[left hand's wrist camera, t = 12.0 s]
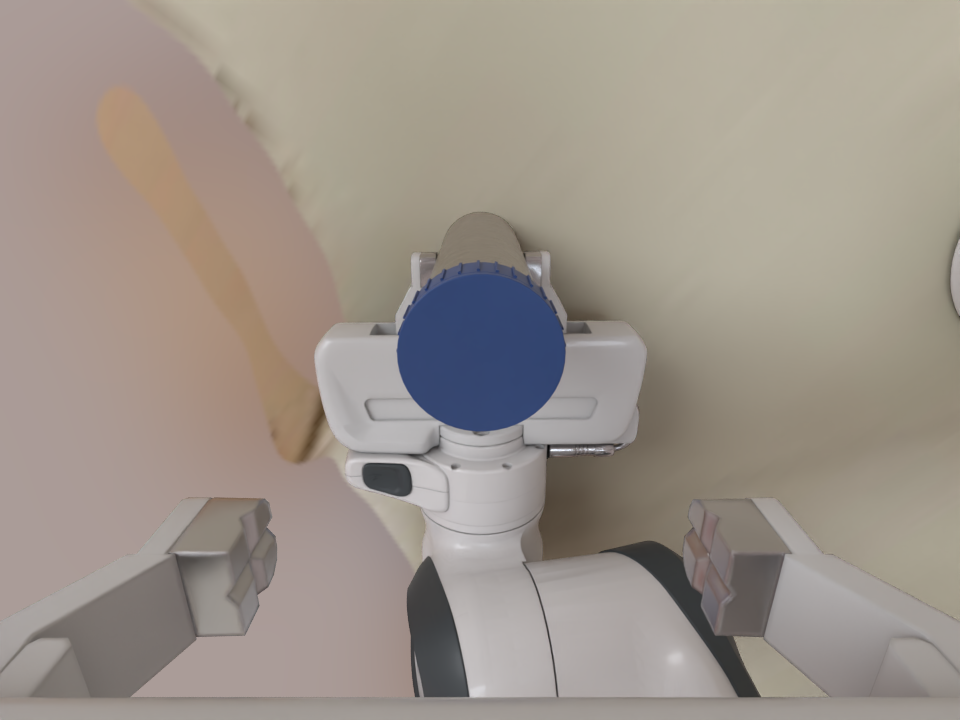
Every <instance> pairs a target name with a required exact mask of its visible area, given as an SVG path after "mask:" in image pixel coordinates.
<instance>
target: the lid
mask: <svg viewBox="0 0 960 720" xmlns="http://www.w3.org/2000/svg"><path fill="white" fill-rule="evenodd" d="M556 314H557V311H556V308H555V306H554V304H553V302H552V300H550V301H549V299H548V298H547V296H546V294H545V291H544V289H543V287H542V286H540V287H539V286H538V285H537V284H536V283H535V282H534V281H532V279H531V277H530V276H529V275H527V276H526V275H524V274H523V273H521V272H519V271H517V270H516V269H515V267H513V266H512V268H510V267H508V266H505V265H501V264H498V262H496V261H495V263H489V262H480V260H477V262H473V263H466V264H462V262H461V263H459V265H458V266H455V267H452V268H450V269H447V270H446V269H443V270H442V273H440V274H438V275H436V276H435V277H434V278H433V279H431V278H429V279H428V281H427V283H426V285H425V286H424V287H423V288H422V289H421V290H420V291H418V290H417V292H416V294H415V296H414V298H413V301H412V304H411V305H408V307H407V309H406V312H405V314H404V316H403V319H405V320H403V322H402V324H401V327H400V329H399V331H398V335H399V338H398V344H397V349H396V352H397V362H398V367H399V372H400V375H401V378H402V381H403V383H404V385H405V387H406V389H407V391H408V392H409V394H410V395H411V397H412V398H413V400H414V401H415V402H416V403H417V404H418V405H419V406H420V407H421V408H422V409H423V410H424V411H425V412H426V413H428V414H429V415H430V416H432V417H433V418H435V419H436V420H438V421H440V422H442V423H444V424H446V425H449V426H452V427H455V428H458V429H463V430H468V431H495V430H500V429H504V428H508V427H511V426H513V425H516V424H518V423H520V422H522V421H524V420H526V419H528V418H529V417H531V416H532V415H534V414H535V413H536V412H537V411H538V410H540V409H541V408H542V407H543V406H544V405H545V404H546V402H547V401H548V400H549V399H550V398H551V396H552V395H553V393H554V392H555V390H556V388H557V386H558V384H559V382H560V380H561V377H562V374H563V370H564V365H565V356H566V349H565V347H566V343H565V340H564V335H563V331H562V330H564V328H563V325H562V323H561V321H560V319H559V317H558V315H556Z"/></svg>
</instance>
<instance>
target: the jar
mask: <svg viewBox="0 0 960 720" xmlns="http://www.w3.org/2000/svg"><path fill="white" fill-rule="evenodd" d="M477 260H480V262H489V263H495V261H496V262H498V264H501V265H505V266H508V267H510V268H512V266H513V267H515V269H516V270H517V271H519V272H521V273H523V274H524V275H526V276H527V275H529V276H530V277H531V279H532V276H531V273H530V271H529V268H528V266H527V263H526V260H525V258H524V255H523V253H522V250H521V247H520V245H519V242H518V240H517V237H516V234H515V232H514V231H513V229H512V228H511V226H510V225H509V224H508V223H507V222H506V221H505V220H503V219H502V218H500V217H499V216H496V215H494V214H491V213H486V212H475V213H470V214H467V215H465V216H463V217H461V218H459V219H458V220H457V221H456V222H454V223H453V225H452V226H451V227H450V228H449V230H448V231H447V233H446V235H445V238H444V241H443V243H442V246H441V249H440V251H439V254H438V257H437V259H436V262H435V265H434V268H433V270H432V273H431V276H430V278H431V279H433V278H434V277H435V276H436V275H438V274H440V273H442V270H443V269H446V270H447V269H450V268H452V267H455V266H458V265H459V263H461V262H462V264H466V263H473V262H477ZM532 281H533V279H532Z"/></svg>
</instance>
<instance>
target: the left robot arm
mask: <svg viewBox="0 0 960 720" xmlns="http://www.w3.org/2000/svg"><path fill="white" fill-rule="evenodd" d="M271 518H272V514H271V509H270V504H269V502H268V501H267V500H266V499H257V498H186V499H183V500H181V501H180V502H179V504H178V505H177V506H176V507H175V508H174V510H173V511H172V512H171V513H170V514H169V516H168V517H167V518H166V519H165V520H164V521H163V523H162V524H161V525H160V526H159V527H158V529H157V530H156V531H155V532H154V533H153V535H152V536H151V537H150V538H149V539H148V541H147V542H146V543H145V544H144V545H143V547H142V548H141V549H140V550H139V551H138V552H137V554H127V555H125V556H123V557H121V558H119V559H117V560H116V561H114V562H112V563H110V564H108V565H106V566H104V567H102V568H100V569H98V570H96V571H95V572H93V573H91V574H89V575H87V576H85V577H83V578H81V579H79V580H77V581H75V582H74V583H72V584H70V585H68V586H66V587H64V588H62V589H60V590H58V591H56V592H55V593H53V594H51V595H49V596H47V597H45V598H43V599H41V600H39V601H37V602H36V603H34V604H32V605H30V606H28V607H26V608H24V609H22V610H20V611H18V612H16V613H15V614H13V615H11V616H9V617H7V618H5V619H3V620H1V621H0V720H960V621H958V620H957V619H955V618H953V617H951V616H949V615H947V614H945V613H943V612H941V611H939V610H938V609H936V608H934V607H932V606H930V605H928V604H926V603H924V602H922V601H920V600H919V599H917V598H915V597H913V596H911V595H909V594H907V593H905V592H903V591H901V590H900V589H898V588H896V587H894V586H892V585H890V584H888V583H886V582H884V581H882V580H881V579H879V578H877V577H875V576H873V575H871V574H869V573H867V572H865V571H863V570H862V569H860V568H858V567H856V566H854V565H852V564H850V563H848V562H846V561H844V560H843V559H841V558H839V557H837V556H835V555H833V554H823V552H822V551H821V550H820V549H819V548H818V546H817V545H816V544H815V543H814V542H813V541H812V539H811V538H810V537H809V536H808V535H807V533H806V532H805V531H804V530H803V529H802V528H801V526H800V525H799V524H798V523H797V522H796V520H795V519H794V518H793V517H792V516H791V514H790V513H789V512H788V511H787V510H786V509H785V507H784V506H783V505H782V504H781V503H780V501H779V500H777V499H775V498H773V497H761V498H746V499H693V501H692V503H691V505H690V508H689V513H688V518H689V520H690V522H691V524H692V526H693V528H692V529H691V530H690V531H689V532H688V533H687V534H686V535H685V537H684V544H683V561H684V568H685V571H686V575H687V578H688V580H689V582H690V584H691V586H692V588H694V589H695V590H697V591H698V592H699V593H701V594H702V595H703V596H702V601H701V608H702V610H703V612H704V614H705V616H706V618H707V620H708V622H709V624H710V626H711V628H712V630H713V632H714V634H715V636H747V637H764V640H765V641H766V642H767V643H768V644H769V645H771V646H772V647H773V648H774V649H775V650H776V651H778V652H779V653H780V654H781V655H782V656H783V657H784V658H786V659H787V660H788V661H789V662H790V663H791V664H793V665H794V666H795V667H796V668H797V669H798V670H800V671H801V672H802V673H803V674H804V675H805V676H806V677H808V678H809V679H810V680H811V681H812V682H813V683H815V684H816V685H817V686H818V687H819V688H820V689H821V690H823V691H824V692H825V693H826V694H827V695H828V696H830V697H131V696H132V695H133V694H134V693H135V692H136V691H137V690H139V689H140V688H141V687H142V686H143V685H144V684H146V683H147V682H148V681H149V680H150V679H151V678H153V677H154V676H155V675H156V674H157V673H158V672H159V671H161V670H162V669H163V668H164V667H165V666H166V665H168V664H169V663H170V662H171V661H172V660H173V659H175V658H176V657H177V656H178V655H179V654H180V653H181V652H183V651H184V650H185V649H186V648H187V647H188V646H190V645H191V644H192V643H193V642H194V641H195V640H196V637H212V636H245V634H246V632H247V630H248V628H249V626H250V624H251V622H252V620H253V618H254V616H255V614H256V612H257V610H258V607H259V601H258V596H257V595H258V594H259V593H261V592H262V591H263V590H265V589H266V588H267V587H268V586H269V584H270V582H271V580H272V577H273V575H274V571H275V566H276V561H277V543H276V537H275V535H274V534H273V533H272V532H271V531H270V530H269V529H268V528H267V526H268V524H269V522H270V520H271Z"/></svg>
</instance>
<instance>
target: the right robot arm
mask: <svg viewBox="0 0 960 720" xmlns="http://www.w3.org/2000/svg"><path fill="white" fill-rule="evenodd" d="M523 255H524V258H525V260H526V263H527V266H528V268H529V271H530V273H531V276H532V279H533V281H534V282H535V283H536V284H537V285H538V286H539V287H540V286H542V287H543V289H544V291H545V294H546V296H547V298H548V299H549V301H550V300H552V302H553V304H554V306H555V308H556V311H557V314H556V315H558V317H559V319H560V321H561V323H562V325H563V328H564V330H562V331H563V335H564V340H565V343H566V347H565V349H566V356H565V365H564V370H563V374H562V377H561V380H560V382H559V384H558V386H557V388H556V390H555V392H554V393H553V395H552V396H551V398H550V399H549V400H548V401H547V402H546V404H545V405H544V406H543V407H542V408H541V409H540V410H538V411H537V412H536V413H535V414H534V415H532V416H531V417H529V418H528V419H526V420H524V421H522V422H520V423H518V424H516V425H513V426H511V427H508V428H504V429H500V430H495V431H468V430H463V429H458V428H455V427H452V426H449V425H446V424H444V423H442V422H440V421H438V420H436V419H435V418H433V417H432V416H430V415H429V414H428V413H426V412H425V411H424V410H423V409H422V408H421V407H420V406H419V405H418V404H417V403H416V402H415V401H414V400H413V398H412V397H411V395H410V394H409V392H408V391H407V389H406V387H405V385H404V383H403V381H402V378H401V375H400V372H399V367H398V362H397V352H396V349H397V344H398V338H399V335H398V331H399V329H400V327H401V324H402V322H403V320H405V319H403V316H404V314H405V312H406V309H407V307H408V305H411V304H412V301H413V298H414V296H415V294H416V292H417V290H418V291H420V290H421V289H422V288H423V287H424V286H425V285H426V283H427V281H428V279H429V278H430V276H431V273H432V270H433V268H434V265H435V262H436V259H437V257H438V253H437V252H413V254H412V255H411V276H412V284H411V286H410V288H409V290H408V292H407V294H406V295H405V297H404V299H403V301H402V303H401V305H400V307H399V309H398V311H397V313H396V315H395V322H359V323H337V324H335V325H333V326H332V327H331V328H330V329H329V330H328V331H327V332H326V333H325V334H324V336H323V337H322V338H321V340H320V341H319V343H318V344H317V346H316V349H315V354H314V360H315V369H316V375H317V381H318V386H319V391H320V395H321V399H322V404H323V407H324V411H325V414H326V418H327V421H328V424H329V427H330V429H331V431H332V433H333V434H334V436H335V437H336V439H337V440H338V441H339V442H340V443H341V444H342V445H344V446H345V447H347V448H349V450H348V454H347V458H346V464H345V475H346V479H347V481H348V483H349V484H350V485H352V486H354V487H356V488H359V489H362V490H366V491H370V492H374V493H378V494H381V495H385V496H389V497H392V498H395V499H399V500H402V501H405V502H408V503H411V504H414V505H416V506H419V507H420V509H421V512H422V515H423V517H424V519H425V522H426V530H425V533H424V537H423V542H422V561H423V562H422V564H421V565H420V567H419V568H418V570H417V572H416V574H415V576H414V578H413V580H412V581H411V584H410V585H409V587H408V591H407V613H408V622H409V628H410V633H411V666H412V679H413V687H414V693H415V697H761V696H760V694H759V692H758V690H757V689H756V687H755V685H754V683H753V681H752V679H751V677H750V676H749V674H748V672H747V670H746V668H745V666H744V663H743V661H742V659H741V656H740V654H739V651H738V649H737V646H736V643H735V641H734V638H733V636H715V634H714V632H713V630H712V628H711V626H710V624H709V622H708V620H707V618H706V616H705V614H704V612H703V610H702V608H701V601H702V596H703V595H702V594H701V593H699V592H698V591H697V590H695V589H694V588H692V586H691V584H690V582H689V580H688V578H687V575H686V571H685V568H684V561H683V558H682V557H681V556H679V555H678V554H676V553H675V552H674V551H672V550H670V549H669V548H667V547H665V546H664V545H662V544H660V543H657V542H654V541H644V542H640V543H635V544H631V545H626V546H622V547H618V548H613V549H609V550H605V551H601V552H599V553H598V554H590V555H583V556H575V557H568V558H561V559H553V560H546V561H542V559H543V543H542V538H541V534H540V531H539V527H538V524H539V520H540V517H541V515H542V512H543V509H544V505H545V490H546V465H547V461H546V459H548V458H552V457H556V458H557V457H578V456H594V457H608V456H612V455H614V451H618V450H621V449H623V448H625V447H627V446H628V445H629V444H630V443H632V442H633V441H634V440H635V438H636V436H637V431H638V422H639V407H638V405H637V401H638V397H639V393H640V390H641V386H642V381H643V376H644V372H645V366H646V360H647V348H646V345H645V343H644V341H643V339H642V338H641V336H640V335H639V334H638V333H637V332H636V330H635V329H633V328H632V327H631V326H630V325H629V324H628V323H627V322H625V321H567V313H566V311H565V309H564V307H563V305H562V303H561V301H560V300H559V298H558V296H557V294H556V292H555V290H554V289H553V287H552V285H551V283H550V265H551V260H550V254H549V252H548V251H527V252H524V254H523ZM950 285H951V294H952V299H953V303H954V306H955V308H956V311H957V313H958V315H959V316H960V238H959V241H958V243H957V246H956V249H955V252H954V256H953V261H952V266H951V276H950ZM614 444H616V445H614Z"/></svg>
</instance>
